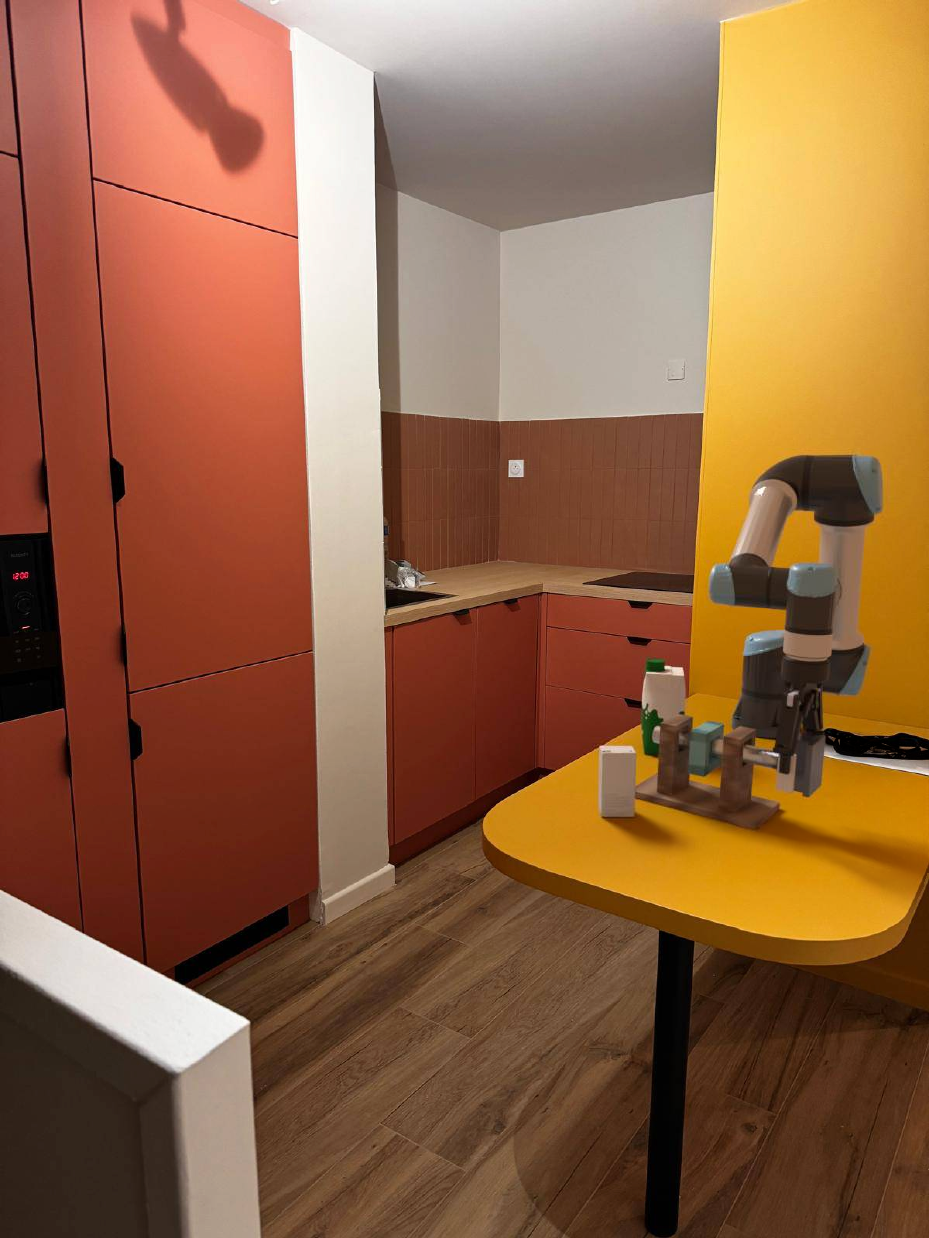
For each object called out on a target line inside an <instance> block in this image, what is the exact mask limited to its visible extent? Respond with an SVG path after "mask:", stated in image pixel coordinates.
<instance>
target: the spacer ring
mask: <svg viewBox="0 0 929 1238" xmlns="http://www.w3.org/2000/svg"><path fill="white" fill-rule="evenodd" d="M724 734H725V723H722V722H716V721H712V720H707V721H705V722H704V723H702V724H700V725H699V726H697V727H695V728H692V730H691V734H690V751H689V768H688V773H689V774H690V775H694V776H698V777H702V778H705V777H706V776H708V775H709V774H710V773H712V772H714V771H715V770H716V769H718V768H719V767H722V757H717V756H713V755H709V752H710V741H712V740H713V739H715V738H718V739H723V737H724V736H725V735H724Z"/></svg>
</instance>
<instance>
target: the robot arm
mask: <svg viewBox="0 0 929 1238" xmlns="http://www.w3.org/2000/svg"><path fill="white" fill-rule="evenodd" d="M883 483H884V482H883V472H882V465H881V462H880V460H879V459H878V458H877V457H875V456H871V455H857V454H855V453H854V454H824V455H823V454H815V455H813V454H812V455H811V454H799V455H798V454H797V455H793V456H791V457H787V458H784V459H783V460H780V461H778V462H777V463H775V464H774V465H771V466H770V467H769V468H768V469H766V470H765V471H764V472H763V473H762V474H760V476H758V478H757V480H756V481H755V482H754V483H753V485H752V487H751V490H750V491H749V496H748V505H749V510H748V512H747V514H746V517H745V520H744V523H743V524H742V528H741V531H740V533H739V536H738V538H737V541H736V543H735V546H734V548H733V551H732V553H731V556H730V559H729V562H725V563H716V564H715V565H713V567H712V568H711V571H710V574H709V581H708V594H709V595H708V596H709V599H710V600H711V602H712V603H713V604H716V605H717V604H718V605H723V606H725V605H726V606H730V607H741V608H755V609H756V608H758V609H770V610H781V611H785V624H784V629H776V630H765V631H758V632H753V633H751V634H750V635H748V636H747V637H746V638H745V641H744V649H743V652H742V656H743V660H742V661H743V662H742V673H741V674H742V677H741V691H740V696H739V699H738V700H737V703H736V706H735V708H734V711H733V713H732V716H731V721H730V722H731V723H730V726H731V728H732V729H733V730H734V729H736V728H738V727H739V726H742V727H747V728H752V729H756V737H758V738H766V739H775V742H774V746H773V747H772V750H773V752H776V753H778V765H777V770H776V779H775V781H776V782H775V790H776V791H779V792H785V793H789V794H793V793H794V792H795V791H794V779H795V767H796V754H795V749H796V745H797V741H798V737H799V733H801V730H802V731H803V734H806V735H811V736H816V737H817V736H818V735H825V730H823V729H824V712H823V711H824V709H823V694H829V695H836V696H848V697H849V696H850V697H854V696H857V695H858V694H860V692H861V690H862V688H863V684H864V681H865V676H866V672H867V668H868V662H869V661H870V660H869V658H870V655H871V649H872V647H871V645H868V644H865V637H864V635H863V634H862V633H861V632H860V631H859V630H858V629H859V628H858V627H859V612H860V601H861V600H860V599H861V588H862V575H863V563H864V562H863V561H864V560H863V559H864V549H865V548H864V547H865V536H866V535H865V534H866V529H867V527H870V525H872V524H873V523H874V522H875V515H879V514H882V513H883V507H884V484H883ZM795 511H797V512H798V511H799V512H800V511H802V512H803V511H804V512H813V521H814V522H815V523H816V525H818V526H819V527H820V536H819V537H820V539H819V541H820V542H819V557H818V562H797V563H793V564H792V565H791V566H790V567H776V566H773V563H774V560H775V558H776V555H777V552H778V548H779V545H780V542H781V539H782V535H783V533H784V531H785V526H786V523H787V521H788V518H789V517H790V516H792V514H793V513H795ZM784 745H785V746H786V747H784Z"/></svg>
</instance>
